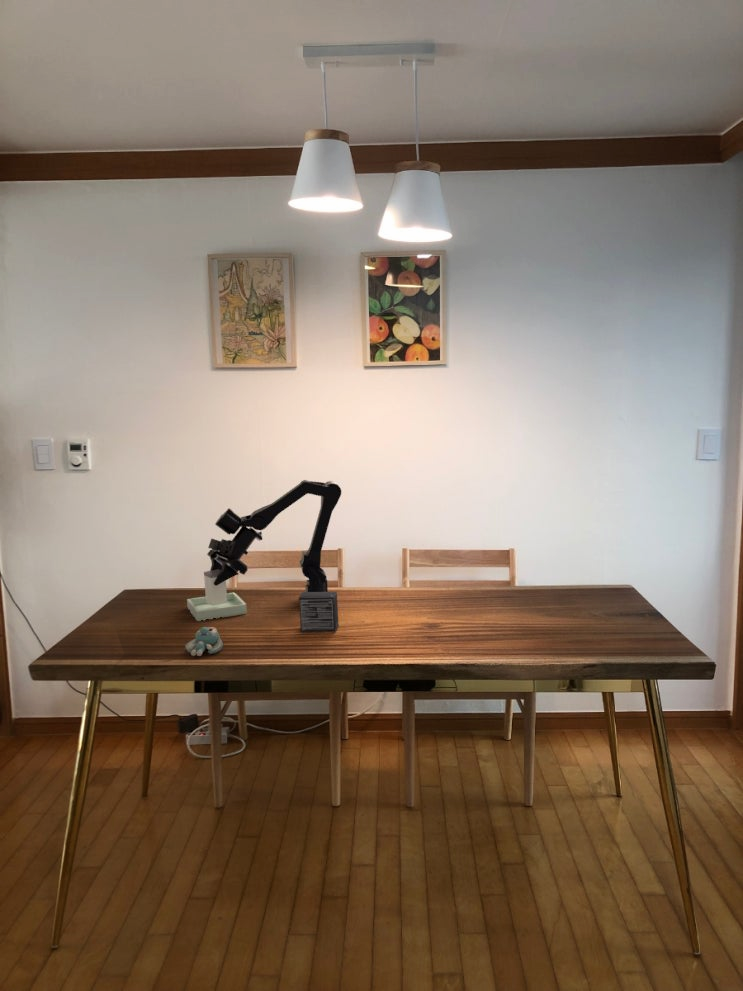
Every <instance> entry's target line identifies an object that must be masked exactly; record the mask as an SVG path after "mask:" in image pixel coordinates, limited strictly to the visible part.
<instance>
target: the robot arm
mask: <svg viewBox="0 0 743 991" xmlns="http://www.w3.org/2000/svg"><path fill="white" fill-rule="evenodd" d="M308 494H310V495H314V496H318V497H320V507H319V508H320V509H319V511H318V512H319V513H318V515H317V519H316V523H315V527H314V529H313V533H312V538H311V541H310V544H309V548H308V549H307V551H304V550H302V553H301V558H300V560H299V566H300V569H301V572H302V575H303V576H304V577H306V578H307V579H306V584H305V585H304V586H305V587H304V588H305V589H304V591H305V592H329V591H328V590H329V589H328V586H329V585H328V579H327V575H326V572H325V570H324V569H323V568H322V567H321V564H322V562H321V560H322V559H321V557H322V550H323V545H324V542H325V539H326V535H327V531H328V528H329V524H330V521H331V518H332V513H333V511H334V509H335V507H336V506H337V504H338V502H339V500H340V498H341V495H342V489H341V487H340V486H339V484H338V483H336V482H335V481H334V480H329V481H326V482H322V481H321V482H320V481H312V480H307V479H303V480H301V481H300V482H299V484H297V485H296V486H294V487H292V488H291V489H290V490H289V491H286V493H284V494H283V495H282V496H280V497H279V498H277V499H276V500H274V501H273V502H271V503H270V504H267V505H264V506H262V507H260V508H258V509H255V510H254V511H253V512H252V513H251V514H248V515H245V516H239V515H238V514H236V513H235V512H234V511H233V510H232V509H231V508H230V507H229V508H227V510H226V511H224V512H223V513H222V514H221V515H220V517H218V519H217V520H216V522H215V524H214V525H215V526H216V527H217V528H219V529H221V530H222V531H223V532H224V533H226V534H227V535H234V537H233V538H232V539H229V540H228V539H227V540H226V539H224V538H222V539H221V540H218V539H214V538H210V541H209V545H208V549H210V550H209V551H208V552H207V554H206V555H207V557H209V558H210V562H211V567H210V568H209V569H210V570H209V571H212V570H217V569H219V570H221V571H220V573H219V575H218V576H217V578H216V580H215V582H214V585H215V586H217V585H219V584H220V583H222V582H224V581H227V580H229V579H231V578H234V577H235V576H239V574H241V575H242V576H243V575H244V576H245V575H246V573H247V572H248V571H249V570H248V568H249V567H248V565H246V564H245V563H244V562H243V561H242V560H241V559H242V558H243V556H244V555H246V556H247V555H248V553H249V552H248V551H247V550H248V549H249V548H250V546H251V545H252V544H253V542H254V541H255V540H257V541H262V540H263V534H262V531H263V530H265V529H266V528H267V527H268V526H269V525H270V524H271V523H272V522H273V521H274V520H275V518H277V516H278V515H279V514H281V513H282V512H283V511H285V510H286V509H288V508H289V507H290V506H291V505H293V504H295V503H296V502H298V501H299V500H301V499H302V498H304V497H305V496H306V495H308ZM258 531H259V532H258Z"/></svg>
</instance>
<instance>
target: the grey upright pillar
mask: <svg viewBox="0 0 743 991" xmlns="http://www.w3.org/2000/svg"><path fill="white" fill-rule="evenodd" d="M220 571H221V570H219V569H217V570H212V571H210V570H208V571H203V579H204V592H205V597H206V603H208V604H210V605H212V606H215V605H219V604H224V603H227V583H226V581H227V580H226V581H224V582H222V583H220V584H219V585H217V586H215V585H214V582H215V580H216V578H217V576H218V575H219V573H220Z"/></svg>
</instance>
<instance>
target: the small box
mask: <svg viewBox="0 0 743 991" xmlns="http://www.w3.org/2000/svg"><path fill="white" fill-rule="evenodd" d="M298 602H299V604H298V605H299V619H300V621H299V623H300V632H301V633H315V632H314V631H318V632H317V633H322V631H324V632H323V633H325V631H327V632H326V633H329V631H331V632H332V631H334V632H335V633H336V631H337V630H338V628H339V625H340V624H339V607H338V591H328V592H304V591H302V592H301V594H300V595H299V597H298ZM311 631H312V632H311ZM331 632H330V633H331Z"/></svg>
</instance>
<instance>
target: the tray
mask: <svg viewBox="0 0 743 991" xmlns="http://www.w3.org/2000/svg"><path fill="white" fill-rule="evenodd" d="M186 604H187V606H186V607H187V610H190V611H189V612H190V613H191V615H192V616H193V618H194V617H195V618H194V619H195V620H196V622H202V621H201V620H203V621H207V620H206V619H209V620H213V618H216V619H221V618H220V617H222V618H227V617H228V618H229V617H234V616H240V615H247V614H248V610H247V609H248V607H247V603H246V601H244V600H243V599H242V598H241V597H240V596H239V595H238V594H237V593H235V592H229V593H227V603H224V604H219V605H215V606H212V605H210V604H208V603H206V596H199V597H193V598H186Z"/></svg>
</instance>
